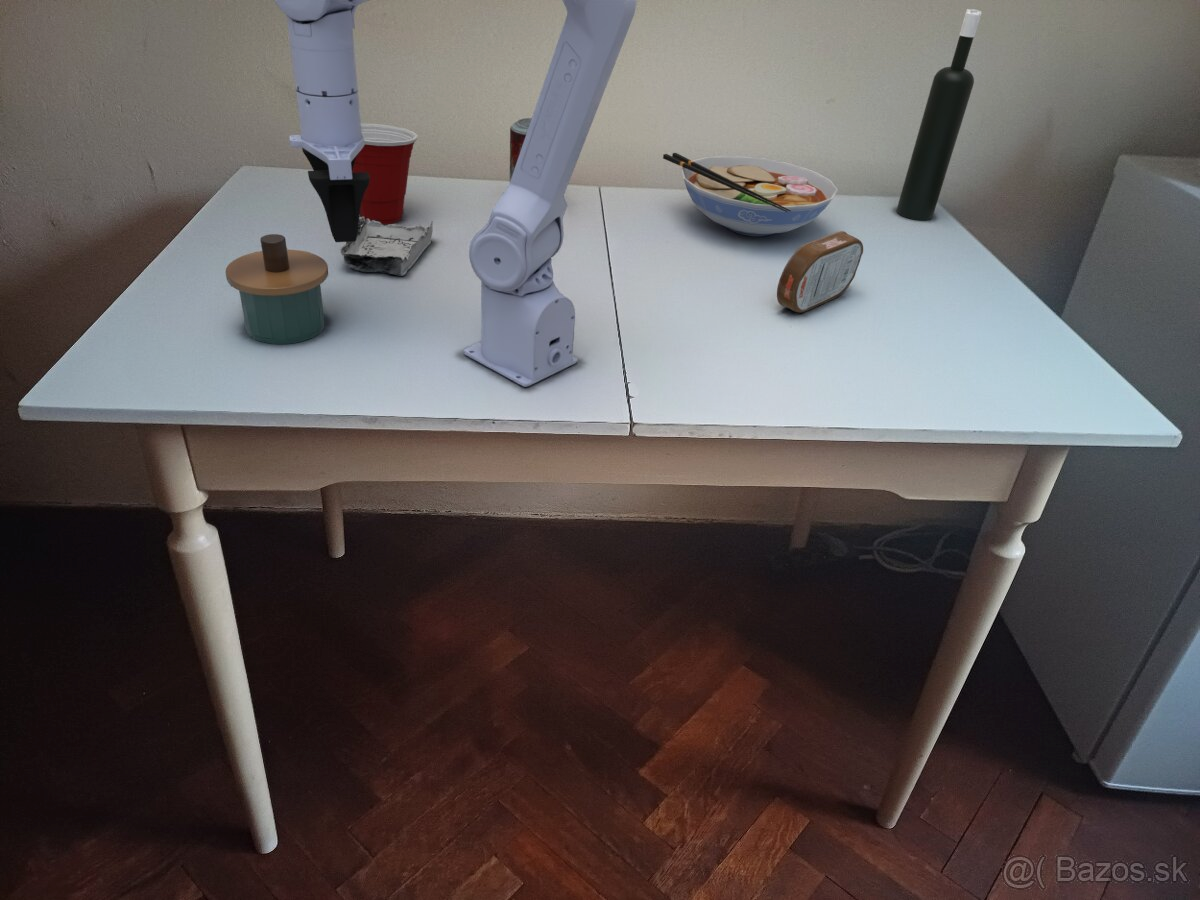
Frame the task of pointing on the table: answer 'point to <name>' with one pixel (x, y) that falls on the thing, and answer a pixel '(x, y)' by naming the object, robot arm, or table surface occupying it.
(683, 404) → the table surface
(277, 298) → the cup
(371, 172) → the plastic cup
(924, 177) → the wine bottle
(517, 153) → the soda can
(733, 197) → the ramen bowl
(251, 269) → the knobbed round lid
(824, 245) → the tin
